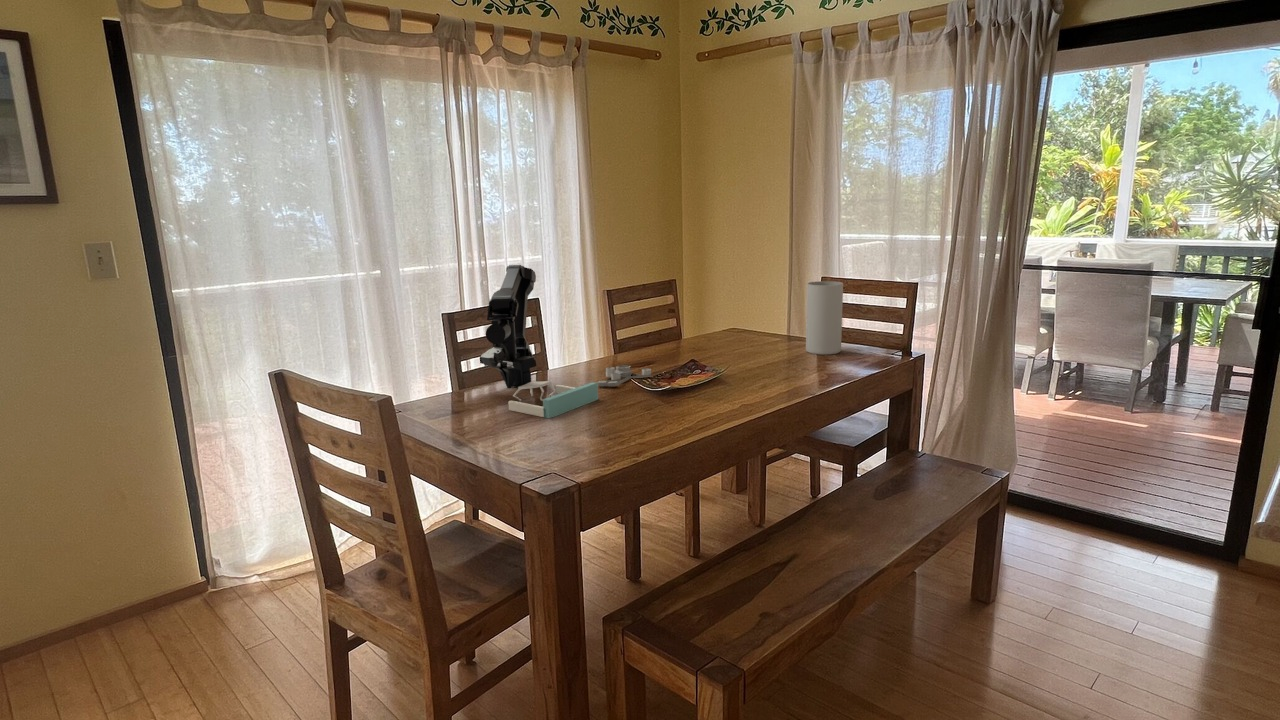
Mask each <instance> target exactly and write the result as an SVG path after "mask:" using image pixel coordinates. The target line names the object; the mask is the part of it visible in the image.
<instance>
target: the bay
mask: <svg viewBox="0 0 1280 720" xmlns="http://www.w3.org/2000/svg"><path fill="white" fill-rule="evenodd" d="M598 387H599V386H598V385H597V382H593V381H592V382H588V383H584V384H583V385H580V386H577V387H574V386H567V385H563V384H555V390H556V392H555V394H554V395H551V397H550V396H548V397H545V398H542V399H543V401H542V406H540V405H537V404H530V403H528V402H522V401H521V402H519V401H517V400H516V401H515V400H508V410H509V411H512V412H517V413H521V414H527V415H531V416H535V417H536V416H537V417H541V418H546V419H551V418H554V417H556V416H560V415H562V414H565V413H567V412H570V411H572V410H575V409H577V408H579V407H582V406H585V405H588V404H590V403H593V402H595V401H598V400H599V393H598V392H599V391H598V389H599V388H598Z"/></svg>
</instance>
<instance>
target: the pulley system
mask: <svg viewBox="0 0 1280 720" xmlns="http://www.w3.org/2000/svg"><path fill="white" fill-rule="evenodd" d="M631 367H632V366H631V365H626V364H625V365H624V364H623V365H617V366H615V367H612V366H609V367H606V368H605V377H606V378H610V380H609V379H608V380H598V381H597V382H596V383H597V386H598V387H600V388H605V387H617V386H619V385H621V384H623V383H626V382H627V381H628V380H632V379H631V378H643V377H653V376H651V375H655V374H656V373H652V369H651V368H642V369H641V374H639V373H634V372H633V371H632V370H631ZM664 372H665V371H663V372H662V373H664ZM659 373H660V372H658V373H657V374H659ZM631 375H632V376H631ZM635 375H637V376H635Z"/></svg>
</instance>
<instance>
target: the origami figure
mask: <svg viewBox="0 0 1280 720" xmlns="http://www.w3.org/2000/svg"><path fill="white" fill-rule="evenodd" d="M548 385H549V387H550V388H551V389H552V392H551V393H550V394H548V397H551V396H552V394H554V393H556V387H555V386H554V385H553V382H552V381H551V380H549V381H548V380H546V381H532V380H531V382H530V383H527V384H525V385H522V386H520V387H518V388H517V390H516V391H515V392H514V393H513V394H512V397H513V398H515V399H517V400H519V401H518V402H522V400H523V399H521V398H520V397H518V396H517V394H518V393H519V392H520V391H521V390H526V389H527V390H528V389H529V392H530V397H531V398H532V397H534V389H535V388H536V389H537V388H539V389H540V391H541V393H540V396H539V399H540V401H541V402H543V399H544V398H543V396H544V393H545V389H544V388H543V387H545V386H548Z"/></svg>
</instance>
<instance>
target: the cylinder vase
mask: <svg viewBox="0 0 1280 720" xmlns="http://www.w3.org/2000/svg"><path fill="white" fill-rule="evenodd" d="M843 295H844V283H843V282H841V281H829V280H821V281H810V282H807V283H806V318H805V319H806V323H805V324H806V325H805V327H806V328H805V331H806V332H805V338H806V339H805V350H806V352H807V353H809V354H813V355H823V356H824V355H836V354H839V353H840V352H841V351H842V333H843V329H842V328H843V301H844V300H843V299H844V298H843V297H844V296H843Z"/></svg>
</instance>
